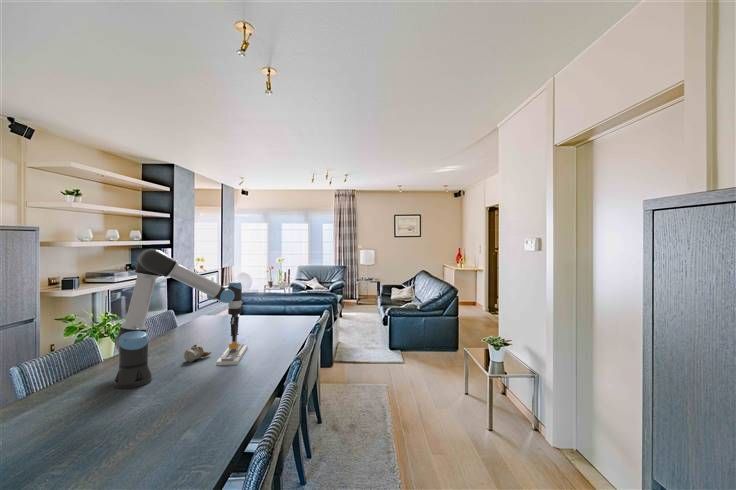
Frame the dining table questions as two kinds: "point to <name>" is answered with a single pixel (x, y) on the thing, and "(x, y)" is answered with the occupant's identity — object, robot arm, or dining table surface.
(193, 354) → the ceramic sculpture
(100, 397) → the dining table surface
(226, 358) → the console
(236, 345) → the fader
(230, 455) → the dining table surface
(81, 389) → the dining table surface
